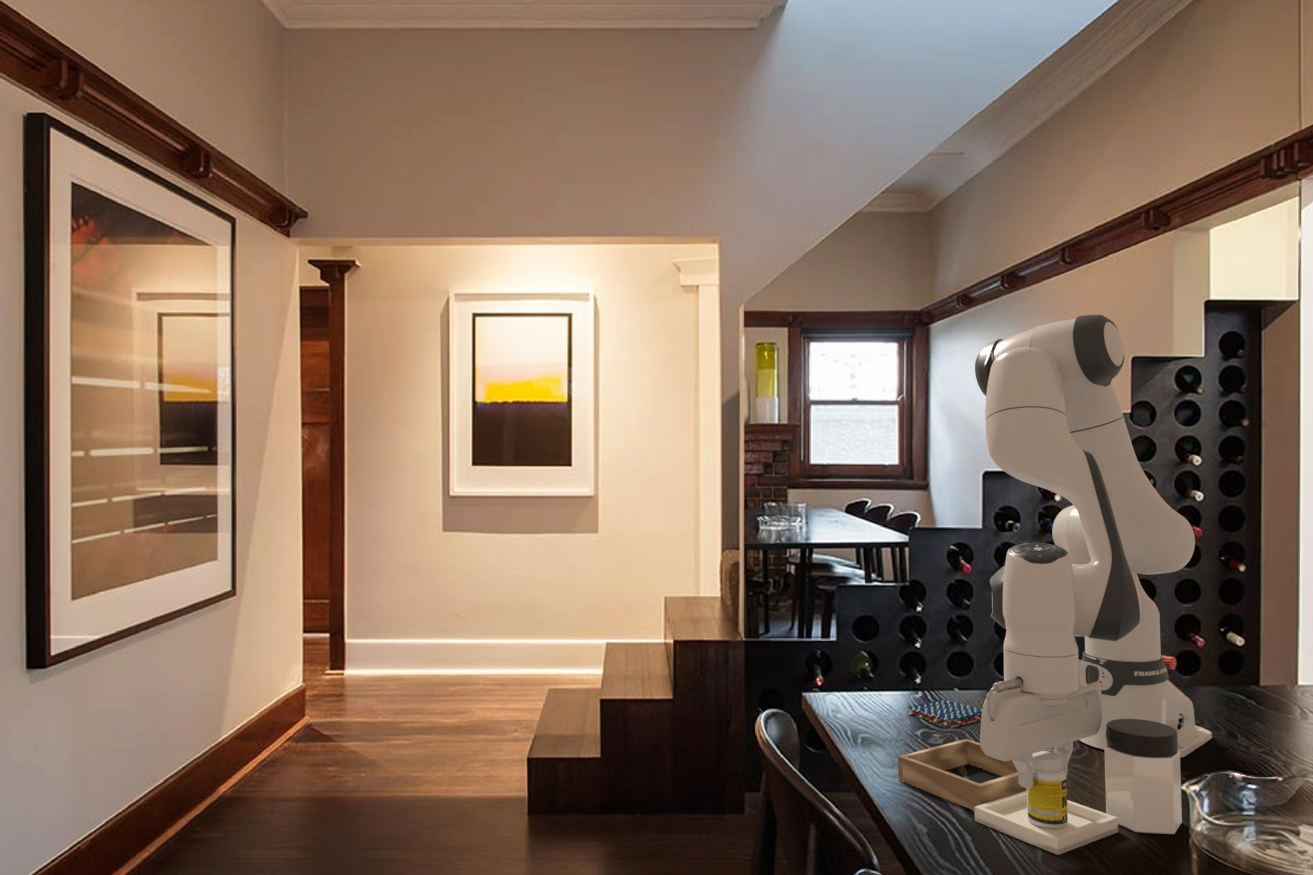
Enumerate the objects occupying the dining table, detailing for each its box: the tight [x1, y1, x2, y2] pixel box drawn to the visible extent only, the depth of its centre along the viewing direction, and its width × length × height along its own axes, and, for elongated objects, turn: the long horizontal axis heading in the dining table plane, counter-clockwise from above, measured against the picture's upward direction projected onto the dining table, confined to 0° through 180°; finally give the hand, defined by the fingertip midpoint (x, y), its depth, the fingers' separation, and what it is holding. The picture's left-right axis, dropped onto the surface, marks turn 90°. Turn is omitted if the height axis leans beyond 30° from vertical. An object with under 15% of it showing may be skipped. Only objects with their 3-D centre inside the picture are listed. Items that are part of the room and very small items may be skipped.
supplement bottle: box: [1027, 750, 1068, 829], centre depth 114 cm, size 5×5×8 cm
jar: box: [1103, 719, 1183, 835], centre depth 116 cm, size 9×8×12 cm
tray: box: [974, 790, 1119, 856], centre depth 114 cm, size 12×12×2 cm
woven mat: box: [907, 699, 983, 728], centre depth 163 cm, size 10×11×2 cm
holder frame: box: [897, 738, 1027, 812], centre depth 129 cm, size 15×15×4 cm
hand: (1043, 781), depth 115 cm, fingers closed on supplement bottle, 5 cm apart
